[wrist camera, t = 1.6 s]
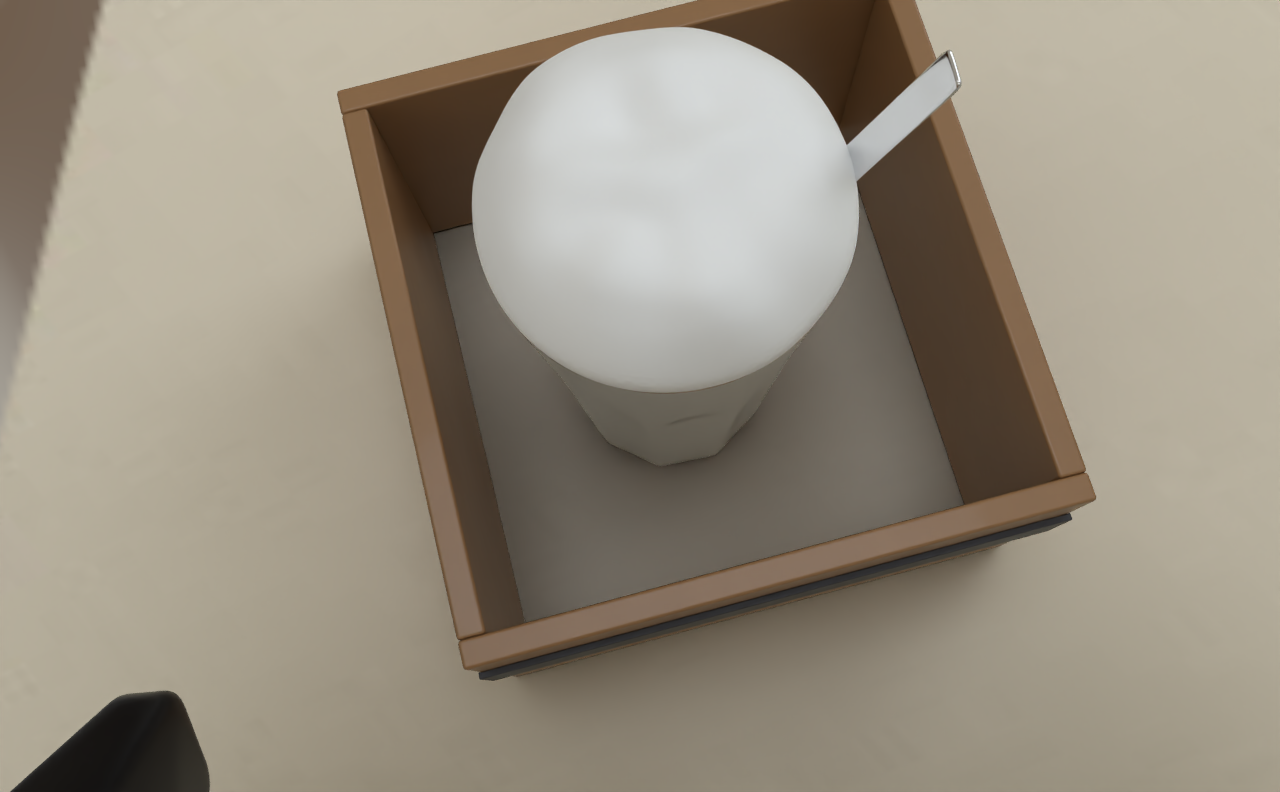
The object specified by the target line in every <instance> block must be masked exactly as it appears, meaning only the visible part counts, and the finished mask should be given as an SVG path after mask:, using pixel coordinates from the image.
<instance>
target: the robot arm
mask: <svg viewBox="0 0 1280 792" xmlns="http://www.w3.org/2000/svg"><path fill="white" fill-rule="evenodd" d="M209 790H210V781H209V772H208V767H207V763H206V760H205V758H204V755H203V753H202V750H201V747H200V745H199V742H198V740H197V737H196V734H195V732H194V729H193V727H192V724H191V721H190V719H189V716H188V714H187V711H186V708H185V706H184V704H183V702H182V700H181V699H180V697H179V696H178V695H177V694H175V693H174V692H170V691H156V692H144V693H133V694H126V695H122V696H119V697H117V698H116V699H114V700H113V701H111V702H110V703H109V704H108V705H107V706H105V707H104V708H103V709H102V710H101V711H100V712H99V713H98V714H97V715H95V716H94V717H93V718H92V719H91V720H90V721H89V722H88V723H86V724H85V725H84V726H83V727H82V728H81V729H80V730H79V731H78V732H76V733H75V734H74V735H73V736H72V737H71V738H70V739H69V740H67V741H66V742H65V743H64V744H63V745H62V746H61V747H60V748H59V749H57V750H56V751H55V752H54V753H53V754H52V755H51V756H50V757H49V758H47V759H46V760H45V761H44V762H43V763H42V764H41V765H40V766H38V767H37V768H36V769H35V770H34V771H33V772H32V773H31V774H30V775H28V776H27V777H26V778H25V779H24V780H23V781H22V782H21V783H19V784H18V785H17V786H16V787H15V788H14V789H13V790H12V791H11V792H209Z"/></svg>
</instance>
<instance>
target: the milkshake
mask: <svg viewBox="0 0 1280 792" xmlns="http://www.w3.org/2000/svg"><path fill="white" fill-rule="evenodd" d="M960 87H961V79H960V75H959V72H958V68H957V65H956V62H955V58H954V55H953V53H952V51H951V50H947V51H945V52H944V53H943V54H942V55H940V56H939V57H938V58H937V59H936V60H935V61H934V62H933V63H932V64H931V65H930V66H929V67H928V68H927V69H926V70H925V71H923V72H922V73H921V74H920V75H919V76H918V77H917V78H916V79H915V80H914V81H913V82H912V83H911V84H910V85H909V86H908V87H907V88H906V89H905V90H904V91H903V92H902V93H900V94H899V95H898V96H897V97H896V98H895V99H894V100H893V101H892V102H891V103H890V104H889V105H888V106H887V107H886V108H885V109H884V110H883V111H882V112H881V113H880V114H879V115H877V116H876V117H875V118H874V119H873V120H872V121H871V122H870V123H869V124H868V125H867V126H866V127H865V128H864V129H863V130H862V131H861V132H860V133H859V134H858V135H857V136H856V137H855V138H853V139H852V140H851V141H850V142H849V143H848V144H847V145H846V143H845V140H844V138H843V136H842V134H841V132H840V129H839V127H838V125H837V123H836V122H835V120H834V118H833V116H832V114H831V113H830V111H829V109H828V108H827V106H826V105H825V103H824V102H823V100H822V99H821V98H820V96H819V95H818V94H817V92H816V91H815V90H814V89H813V88H812V87H811V86H810V85H809V84H808V83H807V82H806V81H805V80H804V79H803V78H802V77H801V76H800V75H799V74H798V73H797V72H795V71H794V70H793V69H791V68H790V67H789V66H787V65H786V64H784V63H783V62H781V61H780V60H778V59H776V58H775V57H773V56H771V55H769V54H767V53H766V52H764V51H762V50H760V49H758V48H756V47H754V46H751V45H749V44H747V43H744V42H742V41H740V40H737V39H734V38H731V37H729V36H725V35H722V34H719V33H715V32H711V31H707V30H702V29H696V28H688V27H667V28H655V29H646V30H637V31H630V32H623V33H616V34H611V35H606V36H601V37H597V38H594V39H590V40H587V41H584V42H582V43H579V44H577V45H574V46H572V47H570V48H568V49H566V50H564V51H562V52H560V53H558V54H557V55H555V56H553V57H552V58H550V59H548V60H547V61H545V62H544V63H542V64H541V65H540V66H538V67H537V68H536V69H535V70H533V71H532V72H531V73H530V74H529V75H528V76H527V77H526V78H525V79H524V80H523V82H522V83H521V84H520V85H519V87H518V88H517V89H516V91H515V92H514V94H513V95H512V96H511V98H510V100H509V101H508V103H507V105H506V106H505V108H504V110H503V112H502V114H501V116H500V118H499V120H498V122H497V124H496V126H495V128H494V130H493V132H492V133H491V135H490V137H489V139H488V142H487V144H486V146H485V148H484V150H483V152H482V155H481V157H480V159H479V162H478V165H477V168H476V172H475V177H474V182H473V190H472V220H473V230H474V237H475V243H476V247H477V251H478V255H479V259H480V262H481V265H482V268H483V271H484V274H485V276H486V279H487V281H488V284H489V286H490V288H491V290H492V292H493V294H494V296H495V298H496V299H497V301H498V303H499V304H500V306H501V308H502V309H503V310H504V312H505V313H506V315H507V316H508V317H509V319H510V320H511V321H512V323H513V324H514V325H515V326H516V327H517V328H518V330H519V331H520V332H521V333H522V334H523V335H524V337H525V338H526V339H527V340H528V341H529V342H530V343H531V345H532V346H533V347H534V348H535V349H536V350H537V351H538V352H539V354H540V355H541V356H542V357H543V358H544V359H545V360H546V362H547V363H548V364H549V365H550V366H551V367H552V368H553V369H554V371H555V372H556V373H557V374H558V375H559V376H560V378H561V379H562V380H563V381H564V382H565V384H566V385H567V386H568V388H569V389H570V390H571V392H572V393H573V394H574V396H575V397H576V399H577V400H578V401H579V403H580V404H581V406H582V407H583V408H584V410H585V411H586V413H587V414H588V416H589V417H590V418H591V420H592V421H593V423H594V424H595V426H596V427H597V428H598V430H599V431H600V433H601V434H602V436H603V437H604V439H605V440H606V441H607V442H608V443H609V444H611V445H613V446H616V447H618V448H620V449H622V450H625V451H627V452H629V453H631V454H633V455H636V456H638V457H640V458H642V459H644V460H647V461H649V462H651V463H653V464H655V465H657V466H665V465H669V464H674V463H679V462H684V461H689V460H695V459H700V458H705V457H710V456H715V455H716V454H717V453H718V452H719V451H720V450H721V449H722V448H723V447H724V446H725V445H726V444H727V443H728V441H729V440H730V439H731V438H732V437H733V436H734V435H735V434H736V433H737V432H738V431H739V430H740V429H741V427H742V426H743V425H744V424H745V423H746V422H747V421H748V420H749V419H750V418H751V417H752V416H753V415H754V414H755V412H756V410H757V409H758V407H759V406H760V404H761V402H762V401H763V399H764V397H765V396H766V394H767V393H768V391H769V389H770V388H771V386H772V384H773V383H774V381H775V380H776V378H777V376H778V375H779V373H780V371H781V370H782V368H783V366H784V365H785V363H786V361H787V360H788V359H789V357H790V356H791V355H792V354H793V352H794V351H795V350H796V348H797V347H798V346H799V345H800V343H801V342H802V341H803V339H804V338H805V337H806V335H807V334H808V333H809V332H810V330H811V329H812V328H813V326H814V325H815V324H816V322H817V321H818V320H819V318H820V317H821V316H822V315H823V313H824V312H825V311H826V309H827V308H828V306H829V305H830V304H831V302H832V301H833V299H834V298H835V296H836V294H837V293H838V291H839V289H840V288H841V286H842V284H843V282H844V280H845V277H846V275H847V273H848V271H849V268H850V266H851V263H852V260H853V256H854V252H855V248H856V243H857V236H858V226H859V200H858V189H857V181H858V180H859V179H860V178H861V177H862V176H864V175H865V174H866V173H867V172H868V171H869V170H870V169H871V168H872V167H874V166H875V165H876V164H877V163H878V162H879V161H880V160H881V159H883V158H884V157H885V156H886V155H887V154H888V153H889V152H890V151H892V150H893V149H894V148H895V147H896V146H897V145H898V144H899V143H900V142H902V141H903V140H904V139H905V138H906V137H907V136H908V135H909V134H911V133H912V132H913V131H914V130H915V129H916V128H917V127H918V126H919V125H921V124H922V123H923V122H924V121H925V120H926V119H927V118H928V117H930V116H931V115H932V114H933V113H934V112H935V111H936V110H937V109H938V108H940V107H941V106H942V105H943V104H944V103H945V102H946V101H947V100H948V99H950V98H951V97H952V96H953V95H954V94H955V93H956V92H957V91H958V90H959V88H960Z"/></svg>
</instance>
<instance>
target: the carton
mask: <svg viewBox="0 0 1280 792" xmlns="http://www.w3.org/2000/svg"><path fill="white" fill-rule="evenodd" d="M667 27H688V28H696V29H702V30H707V31H711V32H715V33H719V34H722V35H725V36H729V37H731V38H734V39H737V40H740V41H742V42H744V43H747V44H749V45H751V46H754V47H756V48H758V49H760V50H762V51H764V52H766V53H767V54H769V55H771V56H773V57H775V58H776V59H778V60H780V61H781V62H783V63H784V64H786V65H787V66H789V67H790V68H791V69H793V70H794V71H795V72H797V73H798V74H799V75H800V76H801V77H802V78H803V79H804V80H805V81H806V82H807V83H808V84H809V85H810V86H811V87H812V88H813V89H814V90H815V91H816V92H817V94H818V95H819V96H820V98H821V99H822V100H823V102H824V103H825V105H826V106H827V108H828V109H829V111H830V113H831V114H832V116H833V118H834V120H835V122H836V123H837V125H838V127H839V129H840V132H841V134H842V136H843V138H844V140H845V143H846V145H847V144H848V143H849V142H850V141H851V140H852V139H853V138H855V137H856V136H857V135H858V134H859V133H860V132H861V131H862V130H863V129H864V128H865V127H866V126H867V125H868V124H869V123H870V122H871V121H872V120H873V119H874V118H875V117H876V116H877V115H879V114H880V113H881V112H882V111H883V110H884V109H885V108H886V107H887V106H888V105H889V104H890V103H891V102H892V101H893V100H894V99H895V98H896V97H897V96H898V95H899V94H900V93H902V92H903V91H904V90H905V89H906V88H907V87H908V86H909V85H910V84H911V83H912V82H913V81H914V80H915V79H916V78H917V77H918V76H919V75H920V74H921V73H922V72H923V71H925V70H926V69H927V68H928V67H929V66H930V65H931V64H932V63H933V62H934V61H935V60H936V57H935V54H934V51H933V48H932V46H931V43H930V40H929V37H928V35H927V32H926V29H925V27H924V24H923V21H922V18H921V16H920V13H919V10H918V7H917V5H916V2H915V0H697V1H693V2H689V3H685V4H681V5H677V6H673V7H669V8H665V9H661V10H657V11H653V12H649V13H645V14H641V15H637V16H633V17H629V18H625V19H621V20H618V21H614V22H610V23H606V24H602V25H598V26H594V27H590V28H586V29H582V30H578V31H574V32H570V33H566V34H562V35H558V36H554V37H550V38H546V39H542V40H538V41H534V42H530V43H527V44H523V45H519V46H515V47H511V48H507V49H503V50H499V51H495V52H491V53H487V54H483V55H479V56H475V57H471V58H467V59H463V60H459V61H455V62H451V63H447V64H443V65H440V66H436V67H432V68H428V69H424V70H420V71H416V72H412V73H408V74H404V75H400V76H396V77H392V78H388V79H384V80H380V81H376V82H372V83H368V84H364V85H360V86H356V87H352V88H349V89H345V90H341V91H338V94H337V96H338V100H339V105H340V109H341V113H342V115H343V123H344V128H345V132H346V137H347V141H348V146H349V150H350V155H351V159H352V164H353V168H354V173H355V178H356V182H357V187H358V191H359V196H360V200H361V205H362V209H363V214H364V218H365V223H366V227H367V232H368V237H369V241H370V246H371V250H372V255H373V259H374V264H375V268H376V273H377V277H378V282H379V287H380V291H381V296H382V300H383V305H384V309H385V314H386V318H387V323H388V327H389V332H390V337H391V341H392V346H393V350H394V355H395V359H396V364H397V368H398V373H399V377H400V382H401V387H402V391H403V396H404V400H405V405H406V409H407V414H408V418H409V423H410V427H411V432H412V437H413V441H414V446H415V450H416V455H417V459H418V464H419V468H420V473H421V477H422V482H423V487H424V491H425V496H426V500H427V505H428V509H429V514H430V518H431V523H432V527H433V532H434V537H435V541H436V546H437V550H438V555H439V559H440V564H441V568H442V573H443V577H444V582H445V587H446V591H447V596H448V600H449V605H450V609H451V614H452V618H453V623H454V627H455V632H456V637H457V639H458V640H461V641H459V644H458V646H459V650H460V655H461V659H462V664H463V668H464V669H465V670H472V671H480V672H479V678H480V679H481V680H491V681H494V680H498V679H502V678H505V677H509V676H516V677H517V676H521V675H525V674H528V673H532V672H536V671H539V670H543V669H547V668H551V667H554V666H558V665H562V664H565V663H569V662H573V661H576V660H580V659H584V658H588V657H591V656H595V655H599V654H602V653H606V652H610V651H613V650H617V649H621V648H624V647H628V646H632V645H636V644H639V643H643V642H647V641H650V640H654V639H658V638H661V637H665V636H669V635H673V634H676V633H680V632H684V631H687V630H691V629H695V628H698V627H702V626H706V625H710V624H713V623H717V622H721V621H724V620H728V619H732V618H735V617H739V616H743V615H747V614H750V613H754V612H758V611H761V610H765V609H769V608H772V607H776V606H780V605H784V604H787V603H791V602H795V601H798V600H802V599H806V598H809V597H813V596H817V595H821V594H824V593H828V592H832V591H835V590H839V589H843V588H846V587H850V586H854V585H857V584H861V583H865V582H869V581H872V580H876V579H880V578H883V577H887V576H891V575H894V574H898V573H902V572H906V571H909V570H913V569H917V568H920V567H924V566H928V565H931V564H935V563H939V562H943V561H946V560H950V559H954V558H957V557H961V556H965V555H968V554H972V553H976V552H980V551H983V550H987V549H991V548H994V547H998V546H1001V545H1003V544H1005V543H1007V542H1009V541H1012V540H1016V539H1020V538H1023V537H1027V536H1031V535H1034V534H1038V533H1042V532H1045V531H1048V530H1051V529H1053V528H1055V527H1057V526H1059V525H1061V524H1064V523H1066V522H1068V521H1070V520H1072V517H1071V514H1070V512H1072V511H1074V510H1076V509H1078V508H1080V507H1082V506H1084V505H1086V504H1088V503H1090V502H1093V501H1094V500H1096V495H1095V492H1094V490H1093V487H1092V484H1091V481H1090V479H1089V476H1088V474H1087V473H1084V472H1085V471H1086V468H1085V465H1084V462H1083V460H1082V457H1081V454H1080V451H1079V449H1078V446H1077V443H1076V440H1075V438H1074V435H1073V432H1072V429H1071V427H1070V424H1069V421H1068V418H1067V416H1066V413H1065V410H1064V407H1063V405H1062V402H1061V399H1060V396H1059V394H1058V391H1057V388H1056V386H1055V383H1054V380H1053V377H1052V375H1051V372H1050V369H1049V366H1048V364H1047V361H1046V358H1045V355H1044V353H1043V350H1042V347H1041V344H1040V342H1039V339H1038V336H1037V333H1036V331H1035V328H1034V325H1033V323H1032V320H1031V317H1030V314H1029V312H1028V309H1027V306H1026V303H1025V301H1024V298H1023V295H1022V292H1021V290H1020V287H1019V284H1018V281H1017V279H1016V276H1015V273H1014V270H1013V268H1012V265H1011V262H1010V259H1009V257H1008V254H1007V251H1006V249H1005V246H1004V243H1003V240H1002V238H1001V235H1000V232H999V229H998V227H997V224H996V221H995V218H994V216H993V213H992V210H991V207H990V205H989V202H988V199H987V196H986V194H985V191H984V188H983V185H982V183H981V180H980V177H979V175H978V172H977V169H976V166H975V164H974V161H973V158H972V155H971V153H970V150H969V147H968V144H967V142H966V139H965V136H964V133H963V131H962V128H961V125H960V122H959V120H958V117H957V114H956V111H955V109H954V106H953V103H952V101H951V98H950V99H948V100H947V101H946V102H945V103H944V104H943V105H942V106H941V107H940V108H938V109H937V110H936V111H935V112H934V113H933V114H932V115H931V116H930V117H928V118H927V119H926V120H925V121H924V122H923V123H922V124H921V125H919V126H918V127H917V128H916V129H915V130H914V131H913V132H912V133H911V134H909V135H908V136H907V137H906V138H905V139H904V140H903V141H902V142H900V143H899V144H898V145H897V146H896V147H895V148H894V149H893V150H892V151H890V152H889V153H888V154H887V155H886V156H885V157H884V158H883V159H881V160H880V161H879V162H878V163H877V164H876V165H875V166H874V167H872V168H871V169H870V170H869V171H868V172H867V173H866V174H865V175H864V176H862V177H861V178H860V179H859V180H858V181H857V186H858V189H859V192H860V195H861V197H862V200H863V203H864V206H865V209H866V212H867V215H868V218H869V221H870V224H871V227H872V230H873V233H874V236H875V239H876V242H877V245H878V248H879V251H880V254H881V257H882V260H883V263H884V266H885V269H886V272H887V275H888V278H889V281H890V284H891V287H892V290H893V293H894V296H895V299H896V302H897V305H898V308H899V311H900V314H901V317H902V320H903V323H904V325H905V328H906V331H907V334H908V337H909V340H910V343H911V346H912V349H913V352H914V355H915V358H916V361H917V364H918V367H919V370H920V373H921V376H922V379H923V382H924V385H925V388H926V391H927V394H928V397H929V400H930V403H931V406H932V409H933V412H934V415H935V418H936V421H937V424H938V427H939V430H940V433H941V436H942V439H943V442H944V445H945V448H946V451H947V454H948V456H949V459H950V462H951V465H952V468H953V471H954V474H955V477H956V480H957V483H958V486H959V489H960V492H961V495H962V498H963V501H964V504H965V505H962V506H958V507H954V508H951V509H947V510H943V511H939V512H936V513H932V514H928V515H925V516H921V517H917V518H913V519H910V520H906V521H902V522H899V523H895V524H891V525H887V526H884V527H880V528H876V529H873V530H869V531H865V532H861V533H858V534H854V535H850V536H846V537H843V538H839V539H835V540H832V541H828V542H824V543H820V544H817V545H813V546H809V547H806V548H802V549H798V550H794V551H791V552H787V553H783V554H780V555H776V556H772V557H768V558H765V559H761V560H757V561H754V562H750V563H746V564H742V565H739V566H735V567H731V568H728V569H724V570H720V571H716V572H713V573H709V574H705V575H701V576H698V577H694V578H690V579H687V580H683V581H679V582H675V583H672V584H668V585H664V586H661V587H657V588H653V589H649V590H646V591H642V592H638V593H635V594H631V595H627V596H623V597H620V598H616V599H612V600H609V601H605V602H601V603H597V604H594V605H590V606H586V607H582V608H579V609H575V610H571V611H568V612H564V613H560V614H556V615H553V616H549V617H545V618H542V619H538V620H534V621H530V622H527V623H525V621H524V616H523V612H522V608H521V604H520V599H519V595H518V591H517V587H516V582H515V578H514V574H513V570H512V565H511V561H510V557H509V553H508V548H507V544H506V540H505V536H504V531H503V527H502V523H501V519H500V514H499V510H498V506H497V501H496V497H495V493H494V489H493V484H492V480H491V476H490V472H489V467H488V463H487V459H486V455H485V450H484V446H483V442H482V438H481V433H480V429H479V425H478V421H477V416H476V412H475V408H474V404H473V399H472V395H471V391H470V387H469V382H468V378H467V374H466V370H465V365H464V361H463V357H462V353H461V348H460V344H459V340H458V336H457V331H456V327H455V323H454V319H453V314H452V310H451V306H450V302H449V297H448V293H447V289H446V285H445V280H444V276H443V272H442V268H441V263H440V259H439V255H438V251H437V246H436V242H435V238H434V234H433V232H437V231H441V230H445V229H449V228H453V227H457V226H460V225H464V224H468V223H472V222H473V220H472V190H473V182H474V177H475V172H476V168H477V165H478V162H479V159H480V157H481V155H482V152H483V150H484V148H485V146H486V144H487V142H488V139H489V137H490V135H491V133H492V132H493V130H494V128H495V126H496V124H497V122H498V120H499V118H500V116H501V114H502V112H503V110H504V108H505V106H506V105H507V103H508V101H509V100H510V98H511V96H512V95H513V94H514V92H515V91H516V89H517V88H518V87H519V85H520V84H521V83H522V82H523V80H524V79H525V78H526V77H527V76H528V75H529V74H530V73H531V72H532V71H533V70H535V69H536V68H537V67H538V66H540V65H541V64H542V63H544V62H545V61H547V60H548V59H550V58H552V57H553V56H555V55H557V54H558V53H560V52H562V51H564V50H566V49H568V48H570V47H572V46H574V45H577V44H579V43H582V42H584V41H587V40H590V39H594V38H597V37H601V36H606V35H611V34H616V33H623V32H630V31H637V30H646V29H655V28H667Z"/></svg>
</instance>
